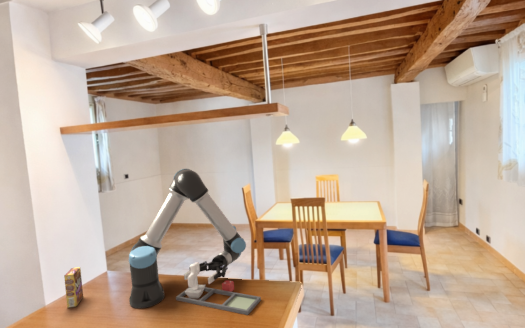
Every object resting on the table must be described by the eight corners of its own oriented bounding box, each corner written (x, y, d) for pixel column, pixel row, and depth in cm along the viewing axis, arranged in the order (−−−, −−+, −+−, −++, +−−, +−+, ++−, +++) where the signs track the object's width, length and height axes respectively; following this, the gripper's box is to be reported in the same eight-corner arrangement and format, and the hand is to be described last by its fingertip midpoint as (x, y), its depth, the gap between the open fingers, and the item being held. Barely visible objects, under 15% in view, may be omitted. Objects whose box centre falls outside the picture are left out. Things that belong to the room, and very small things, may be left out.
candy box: (77, 306, 142) (73, 274, 140) (67, 308, 141) (62, 275, 140) (84, 297, 150) (80, 266, 149) (74, 298, 149) (70, 268, 148)
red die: (222, 292, 145) (221, 283, 145) (227, 288, 149) (226, 279, 149) (229, 293, 144) (229, 284, 143) (234, 289, 147) (233, 280, 147)
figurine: (184, 300, 140) (180, 268, 138) (193, 290, 149) (190, 260, 148) (199, 301, 138) (196, 269, 137) (207, 291, 147) (204, 260, 146)
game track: (176, 300, 141) (175, 296, 141) (192, 287, 152) (192, 284, 152) (247, 315, 125) (247, 311, 125) (260, 300, 135) (260, 296, 135)
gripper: (243, 271, 157) (220, 290, 138) (202, 265, 168) (176, 283, 149) (241, 256, 157) (218, 274, 138) (201, 252, 167) (174, 268, 148)
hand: (196, 279), depth 143 cm, fingers open, 13 cm apart
